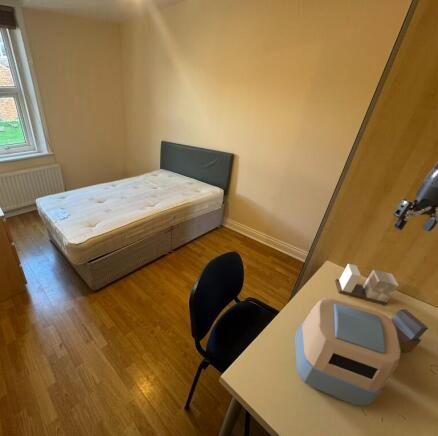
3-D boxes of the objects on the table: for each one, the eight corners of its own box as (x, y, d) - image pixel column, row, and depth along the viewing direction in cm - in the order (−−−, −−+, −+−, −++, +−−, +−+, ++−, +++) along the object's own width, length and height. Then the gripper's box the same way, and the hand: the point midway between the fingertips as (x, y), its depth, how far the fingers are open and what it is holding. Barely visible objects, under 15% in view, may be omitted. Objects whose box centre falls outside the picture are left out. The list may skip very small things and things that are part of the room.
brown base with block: (378, 292, 93) (391, 273, 87) (385, 305, 87) (399, 286, 82) (335, 280, 98) (345, 262, 93) (338, 292, 92) (349, 274, 87)
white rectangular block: (347, 282, 96) (356, 265, 91) (351, 293, 91) (361, 276, 86) (339, 279, 97) (348, 263, 92) (342, 290, 92) (352, 273, 87)
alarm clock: (293, 385, 64) (324, 334, 53) (291, 334, 77) (315, 285, 66) (369, 417, 58) (423, 368, 46) (352, 356, 71) (391, 305, 59)
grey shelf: (387, 330, 78) (405, 307, 72) (410, 352, 72) (432, 329, 66) (337, 333, 77) (352, 311, 72) (356, 356, 71) (374, 333, 65)
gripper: (427, 188, 67) (397, 234, 75) (483, 189, 65) (446, 236, 74) (404, 179, 73) (380, 222, 81) (455, 180, 72) (424, 224, 80)
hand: (411, 229), depth 77 cm, fingers open, 8 cm apart
